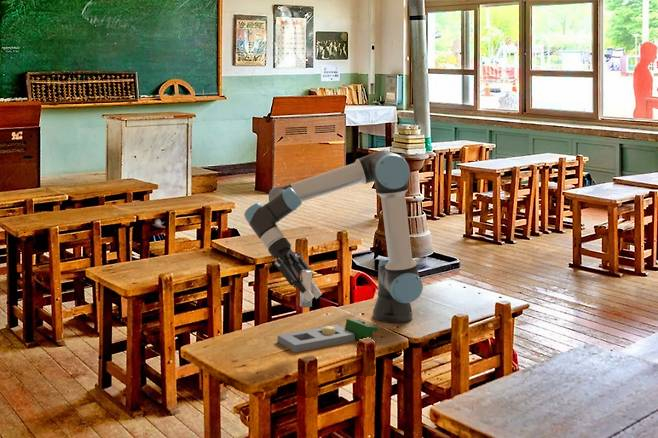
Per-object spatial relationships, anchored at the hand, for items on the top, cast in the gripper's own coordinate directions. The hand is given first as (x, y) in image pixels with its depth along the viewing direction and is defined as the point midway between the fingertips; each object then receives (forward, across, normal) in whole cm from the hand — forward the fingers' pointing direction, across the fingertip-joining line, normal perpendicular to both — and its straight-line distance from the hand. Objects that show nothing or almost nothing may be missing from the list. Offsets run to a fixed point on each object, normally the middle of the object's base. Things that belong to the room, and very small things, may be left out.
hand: (315, 297), depth 276 cm
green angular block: (+18, -18, -7) cm, 26 cm away
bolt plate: (+10, -5, -14) cm, 18 cm away
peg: (0, 0, -5) cm, 5 cm away
